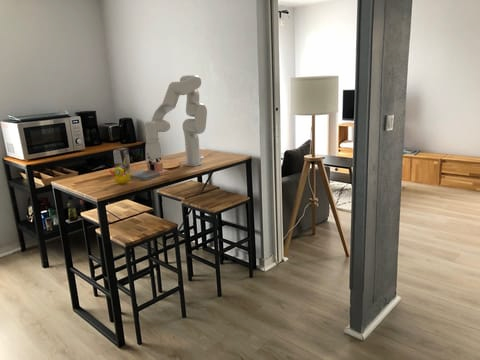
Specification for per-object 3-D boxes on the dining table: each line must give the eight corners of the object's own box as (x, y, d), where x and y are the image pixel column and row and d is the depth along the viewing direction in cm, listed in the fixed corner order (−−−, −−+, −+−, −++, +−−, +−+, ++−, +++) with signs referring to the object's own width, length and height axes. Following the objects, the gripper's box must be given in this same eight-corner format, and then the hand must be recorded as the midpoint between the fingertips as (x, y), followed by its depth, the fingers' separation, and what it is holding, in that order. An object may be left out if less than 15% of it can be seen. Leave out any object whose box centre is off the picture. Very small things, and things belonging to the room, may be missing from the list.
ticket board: (141, 173, 255) (141, 170, 255) (159, 176, 247) (159, 172, 246) (127, 177, 246) (126, 174, 245) (145, 180, 237) (144, 177, 237)
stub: (151, 170, 262) (150, 160, 260) (168, 173, 253) (168, 162, 252) (142, 173, 256) (141, 162, 254) (159, 176, 247) (159, 165, 245)
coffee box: (124, 174, 253) (121, 150, 249) (115, 174, 254) (112, 150, 250) (131, 171, 262) (128, 147, 257) (122, 171, 263) (119, 147, 259)
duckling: (110, 185, 230) (108, 168, 227) (112, 183, 235) (110, 166, 232) (130, 184, 231) (128, 167, 228) (131, 181, 236) (129, 165, 233)
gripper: (157, 138, 258) (160, 165, 263) (138, 142, 244) (141, 171, 249) (166, 139, 254) (168, 167, 259) (146, 143, 240) (149, 172, 245)
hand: (155, 168), depth 254 cm, fingers closed on stub, 4 cm apart
